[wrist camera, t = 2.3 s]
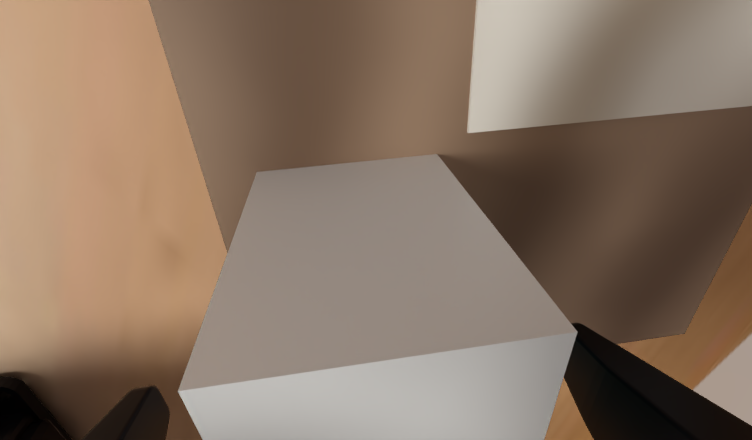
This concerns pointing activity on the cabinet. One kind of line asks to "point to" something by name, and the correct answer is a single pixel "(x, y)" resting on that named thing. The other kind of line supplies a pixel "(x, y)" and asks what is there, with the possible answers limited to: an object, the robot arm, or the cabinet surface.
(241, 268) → the carton
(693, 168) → the shelf board
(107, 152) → the cabinet surface
